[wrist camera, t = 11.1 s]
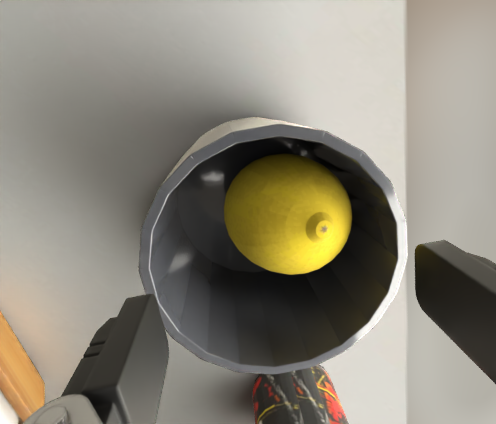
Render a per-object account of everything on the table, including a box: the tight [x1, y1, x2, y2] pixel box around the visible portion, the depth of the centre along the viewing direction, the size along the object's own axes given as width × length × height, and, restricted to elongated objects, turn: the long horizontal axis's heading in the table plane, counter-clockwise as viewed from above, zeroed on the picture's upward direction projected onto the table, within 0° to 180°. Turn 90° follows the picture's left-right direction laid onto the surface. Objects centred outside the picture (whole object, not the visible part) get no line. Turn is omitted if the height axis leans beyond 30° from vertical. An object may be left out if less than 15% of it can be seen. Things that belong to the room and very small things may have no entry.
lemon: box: [224, 153, 352, 275], centre depth 16 cm, size 6×6×8 cm
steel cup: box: [138, 117, 407, 375], centre depth 17 cm, size 10×10×9 cm
